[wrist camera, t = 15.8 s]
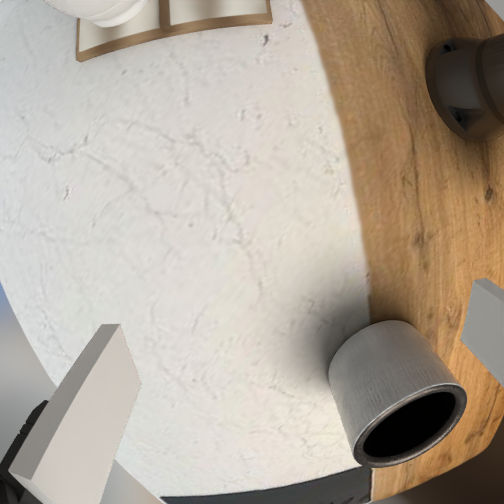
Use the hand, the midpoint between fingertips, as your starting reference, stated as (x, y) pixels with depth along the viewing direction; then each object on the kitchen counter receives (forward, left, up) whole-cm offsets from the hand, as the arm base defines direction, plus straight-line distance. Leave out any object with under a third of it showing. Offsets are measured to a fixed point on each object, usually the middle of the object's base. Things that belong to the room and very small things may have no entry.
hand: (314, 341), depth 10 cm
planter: (-15, +25, -27) cm, 40 cm away
